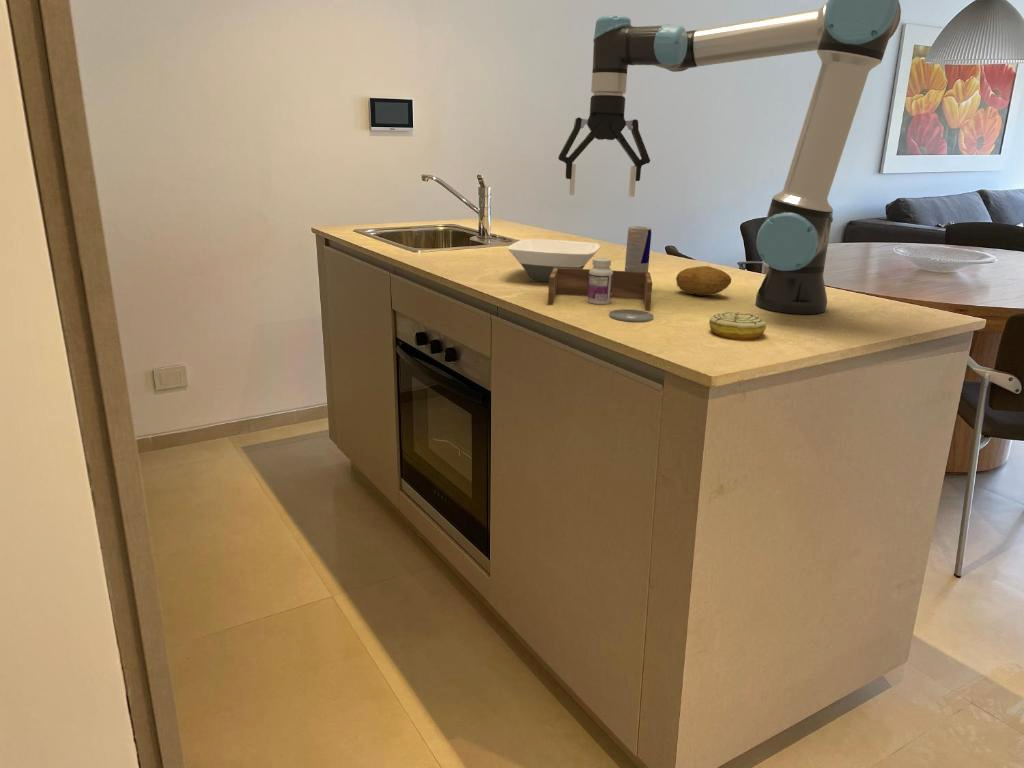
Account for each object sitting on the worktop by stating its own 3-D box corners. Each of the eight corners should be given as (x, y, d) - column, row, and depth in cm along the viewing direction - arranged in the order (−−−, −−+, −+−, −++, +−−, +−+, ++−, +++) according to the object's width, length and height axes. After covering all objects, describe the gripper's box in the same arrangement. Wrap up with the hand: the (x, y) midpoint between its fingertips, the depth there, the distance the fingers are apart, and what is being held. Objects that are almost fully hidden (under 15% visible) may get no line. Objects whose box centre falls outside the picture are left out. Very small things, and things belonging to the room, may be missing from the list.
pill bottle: (595, 298, 176) (598, 256, 173) (615, 302, 173) (618, 259, 170) (582, 302, 172) (585, 258, 169) (602, 305, 169) (605, 261, 166)
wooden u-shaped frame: (552, 292, 181) (553, 267, 179) (647, 298, 178) (649, 272, 176) (547, 304, 168) (549, 277, 166) (649, 310, 165) (652, 283, 164)
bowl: (501, 283, 190) (502, 249, 188) (522, 268, 212) (523, 237, 209) (589, 290, 186) (591, 255, 183) (601, 274, 207) (604, 243, 204)
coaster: (662, 318, 159) (662, 315, 159) (634, 324, 153) (634, 321, 153) (628, 310, 165) (628, 307, 165) (600, 315, 159) (600, 312, 159)
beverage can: (646, 291, 186) (651, 228, 181) (622, 290, 187) (627, 227, 182) (646, 287, 191) (652, 226, 186) (624, 286, 192) (628, 225, 187)
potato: (691, 288, 192) (694, 261, 190) (736, 297, 183) (739, 268, 180) (668, 292, 186) (671, 264, 184) (713, 302, 177) (716, 272, 175)
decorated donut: (766, 332, 152) (769, 313, 150) (762, 344, 142) (765, 324, 141) (712, 325, 155) (714, 307, 154) (704, 337, 146) (707, 317, 144)
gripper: (660, 97, 172) (652, 195, 178) (549, 93, 170) (545, 192, 177) (669, 96, 164) (660, 198, 171) (552, 92, 163) (548, 195, 170)
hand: (601, 195), depth 174 cm, fingers open, 13 cm apart
